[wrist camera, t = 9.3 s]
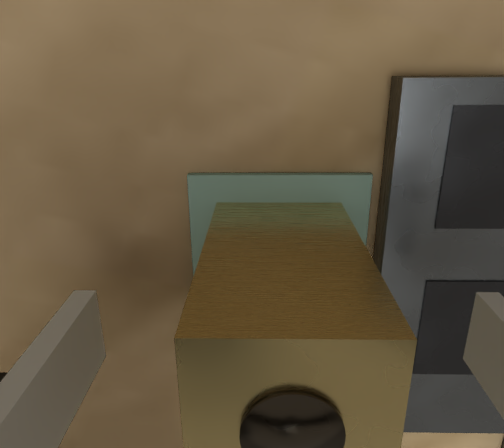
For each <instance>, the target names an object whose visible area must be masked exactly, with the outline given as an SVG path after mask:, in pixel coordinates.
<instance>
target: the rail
mask: <svg viewBox="0 0 504 448" xmlns="http://www.w3.org/2000/svg"><path fill="white" fill-rule="evenodd" d="M373 261H374V263H375V264H376V266H377V268H378V270H379V272H380V273H381V275H382V277H383V279H384V281H385V282H386V284H387V286H388V288H389V290H390V292H391V293H392V295H393V297H394V299H395V301H396V302H397V304H398V306H399V308H400V310H401V311H402V313H403V315H404V317H405V319H406V321H407V322H408V324H409V326H410V328H411V330H412V331H413V333H414V335H415V337H416V339H417V345H416V351H415V358H414V364H413V371H412V377H411V384H410V390H409V397H408V403H407V410H406V416H405V423H404V430H403V432H432V433H504V419H503V418H502V416H501V415H500V413H499V412H498V410H497V409H496V407H495V406H494V404H493V403H492V401H491V400H490V398H489V397H488V395H487V394H486V392H485V391H484V389H483V388H482V386H481V385H480V383H479V382H478V380H477V379H476V378H475V376H474V375H473V373H472V372H471V370H470V369H469V367H468V366H467V364H466V363H465V361H464V360H463V355H464V350H465V346H466V341H467V336H468V331H469V326H470V321H471V316H472V311H473V306H474V301H475V296H476V292H499V293H500V294H501V295H502V296H503V297H504V76H392V81H391V91H390V101H389V111H388V121H387V130H386V140H385V150H384V160H383V169H382V179H381V189H380V199H379V208H378V218H377V228H376V238H375V247H374V257H373ZM501 448H504V439H503V443H502V447H501Z"/></svg>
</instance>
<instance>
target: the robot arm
mask: <svg viewBox="0 0 504 448" xmlns="http://www.w3.org/2000/svg"><path fill="white" fill-rule="evenodd" d="M105 357H106V352H105V345H104V339H103V332H102V326H101V319H100V312H99V306H98V299H97V293H96V290H74V291H73V293H72V294H71V295H70V296H69V298H68V299H67V300H66V301H65V302H64V304H63V305H62V306H61V307H60V309H59V310H58V311H57V312H56V314H55V315H54V316H53V317H52V319H51V320H50V321H49V322H48V324H47V325H46V326H45V327H44V328H43V330H42V331H41V332H40V333H39V335H38V336H37V337H36V338H35V340H34V341H33V342H32V343H31V345H30V346H29V347H28V348H27V350H26V351H25V352H24V353H23V355H22V356H21V357H20V358H19V359H18V361H17V362H16V363H15V364H14V366H13V367H12V368H11V369H10V371H9V372H8V373H0V448H58V447H59V445H60V443H61V441H62V439H63V437H64V435H65V433H66V431H67V430H68V428H69V426H70V424H71V422H72V420H73V418H74V416H75V414H76V412H77V410H78V409H79V407H80V405H81V403H82V401H83V399H84V397H85V395H86V393H87V391H88V389H89V387H90V386H91V384H92V382H93V380H94V378H95V376H96V374H97V372H98V370H99V368H100V366H101V365H102V363H103V361H104V359H105ZM463 360H464V361H465V363H466V364H467V366H468V367H469V369H470V370H471V372H472V373H473V375H474V376H475V378H476V379H477V380H478V382H479V383H480V385H481V386H482V388H483V389H484V391H485V392H486V394H487V395H488V397H489V398H490V400H491V401H492V403H493V404H494V406H495V407H496V409H497V410H498V412H499V413H500V415H501V416H502V418H503V419H504V297H503V296H502V295H501V294H500V293H499V292H476V296H475V301H474V306H473V311H472V316H471V321H470V326H469V331H468V336H467V341H466V346H465V350H464V355H463Z"/></svg>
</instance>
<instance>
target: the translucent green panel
mask: <svg viewBox="0 0 504 448" xmlns="http://www.w3.org/2000/svg"><path fill="white" fill-rule="evenodd" d="M372 179H373V175H372V174H371V173H188V175H187V181H188V198H189V214H190V230H191V247H192V263H193V277H194V274H195V270H196V267H197V264H198V261H199V257H200V254H201V251H202V248H203V245H204V241H205V238H206V235H207V232H208V229H209V225H210V222H211V219H212V216H213V213H214V209H215V206H216V203H217V202H230V203H342V205H343V206H344V208H345V210H346V212H347V214H348V215H349V217H350V219H351V221H352V223H353V225H354V226H355V228H356V230H357V232H358V234H359V235H360V237H361V239H362V241H363V243H364V244H365V246H366V242H367V231H368V221H369V210H370V200H371V189H372Z"/></svg>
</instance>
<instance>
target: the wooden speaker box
mask: <svg viewBox="0 0 504 448" xmlns="http://www.w3.org/2000/svg"><path fill="white" fill-rule="evenodd" d="M174 340H175V352H176V364H177V376H178V388H179V400H180V412H181V424H182V437H183V448H401V443H402V436H403V430H404V423H405V416H406V410H407V403H408V397H409V390H410V384H411V377H412V371H413V364H414V358H415V351H416V345H417V339H416V337H415V335H414V333H413V331H412V330H411V328H410V326H409V324H408V322H407V321H406V319H405V317H404V315H403V313H402V311H401V310H400V308H399V306H398V304H397V302H396V301H395V299H394V297H393V295H392V293H391V292H390V290H389V288H388V286H387V284H386V282H385V281H384V279H383V277H382V275H381V273H380V272H379V270H378V268H377V266H376V264H375V263H374V261H373V259H372V257H371V255H370V253H369V252H368V250H367V248H366V246H365V244H364V243H363V241H362V239H361V237H360V235H359V234H358V232H357V230H356V228H355V226H354V225H353V223H352V221H351V219H350V217H349V215H348V214H347V212H346V210H345V208H344V206H343V205H342V203H230V202H217V203H216V206H215V209H214V213H213V216H212V219H211V222H210V225H209V229H208V232H207V235H206V238H205V241H204V245H203V248H202V251H201V254H200V257H199V261H198V264H197V267H196V270H195V274H194V277H193V280H192V283H191V286H190V290H189V293H188V296H187V299H186V302H185V306H184V309H183V312H182V315H181V318H180V322H179V325H178V328H177V331H176V334H175V338H174Z"/></svg>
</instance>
